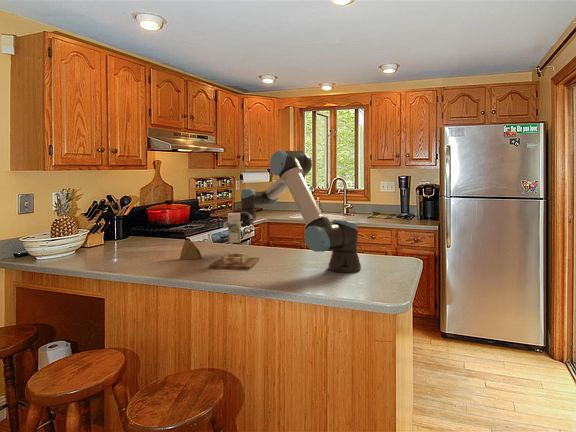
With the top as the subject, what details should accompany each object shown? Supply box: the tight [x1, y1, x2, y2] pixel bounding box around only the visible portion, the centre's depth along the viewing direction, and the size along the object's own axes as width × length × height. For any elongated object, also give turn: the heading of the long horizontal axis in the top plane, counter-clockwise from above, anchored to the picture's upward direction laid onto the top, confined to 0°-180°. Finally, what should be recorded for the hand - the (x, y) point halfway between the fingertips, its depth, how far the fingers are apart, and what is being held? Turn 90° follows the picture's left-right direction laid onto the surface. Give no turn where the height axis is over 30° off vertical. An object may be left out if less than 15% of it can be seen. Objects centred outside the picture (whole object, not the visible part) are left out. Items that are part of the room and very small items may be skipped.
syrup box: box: [227, 212, 242, 244], centre depth 214 cm, size 6×6×14 cm
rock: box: [179, 239, 202, 261], centre depth 229 cm, size 11×9×10 cm
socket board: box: [208, 252, 260, 270], centre depth 216 cm, size 20×20×4 cm
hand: (231, 225), depth 209 cm, fingers closed on syrup box, 6 cm apart
